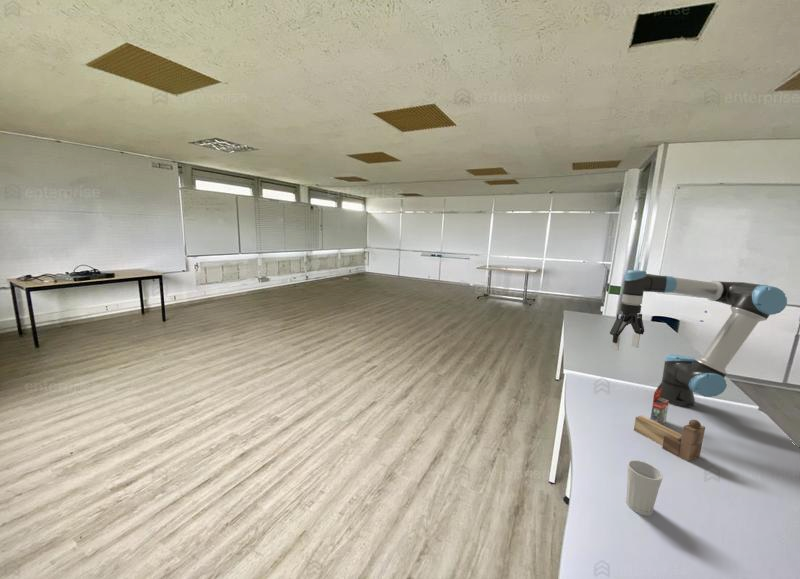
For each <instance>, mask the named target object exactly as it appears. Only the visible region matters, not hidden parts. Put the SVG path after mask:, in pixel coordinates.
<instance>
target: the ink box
mask: <svg viewBox="0 0 800 579" xmlns="http://www.w3.org/2000/svg"><path fill="white" fill-rule="evenodd" d="M661 390H662V388H660V389H658V390H657V391H656V390H655V391H654V393H653V400H652V405H651V411H650V412H651V413H650V418H649V419H651V420H653V421H655V422H657V423H659V424H661V425H663V424H664V423H665V422H667V416H668V409H669V404H670V403H669V401H668V400H665V399H662V398H660V394H661ZM658 391H659V392H658Z"/></svg>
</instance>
